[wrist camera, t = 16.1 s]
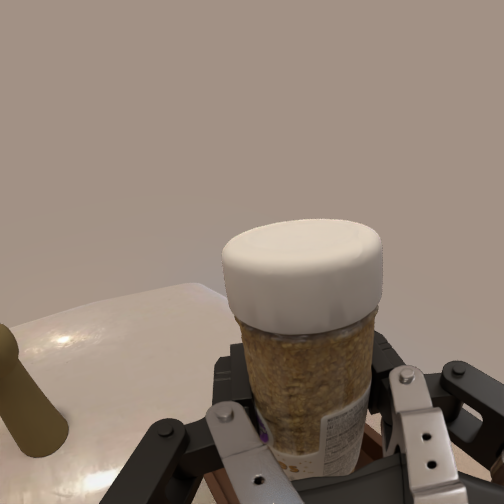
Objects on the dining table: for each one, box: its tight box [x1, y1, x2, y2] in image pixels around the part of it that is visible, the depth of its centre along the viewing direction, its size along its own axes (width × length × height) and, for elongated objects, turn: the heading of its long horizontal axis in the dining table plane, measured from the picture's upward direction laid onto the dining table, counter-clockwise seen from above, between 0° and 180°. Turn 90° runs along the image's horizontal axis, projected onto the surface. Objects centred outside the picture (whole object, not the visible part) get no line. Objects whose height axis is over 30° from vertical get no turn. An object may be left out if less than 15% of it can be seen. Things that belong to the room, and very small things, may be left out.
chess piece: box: [0, 324, 68, 457], centre depth 17 cm, size 6×6×11 cm
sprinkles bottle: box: [221, 219, 383, 481], centre depth 10 cm, size 5×5×14 cm
